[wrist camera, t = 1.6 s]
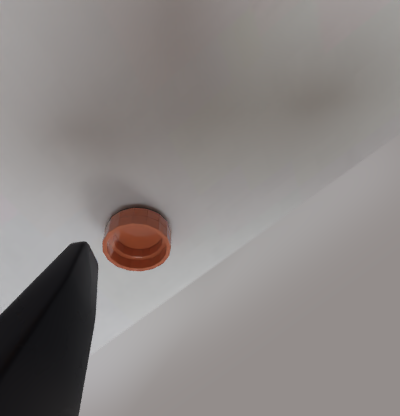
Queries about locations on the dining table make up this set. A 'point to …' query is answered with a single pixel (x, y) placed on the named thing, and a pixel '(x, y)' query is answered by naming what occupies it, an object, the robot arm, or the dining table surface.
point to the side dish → (137, 239)
